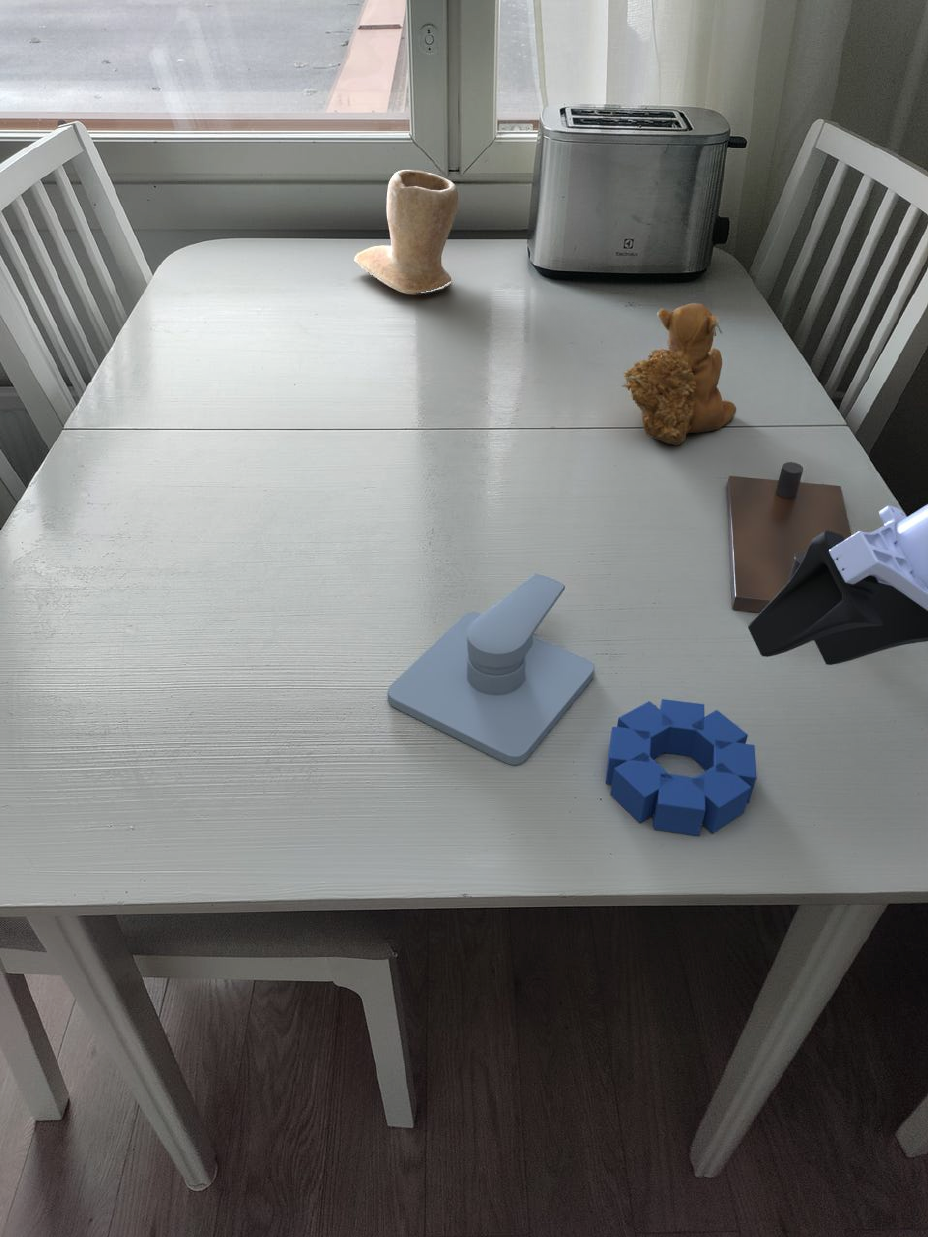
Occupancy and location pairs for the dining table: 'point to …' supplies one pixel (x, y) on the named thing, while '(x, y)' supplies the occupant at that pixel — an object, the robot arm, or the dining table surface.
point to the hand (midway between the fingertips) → (790, 646)
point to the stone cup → (414, 233)
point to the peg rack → (776, 531)
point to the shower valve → (496, 676)
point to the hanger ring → (676, 796)
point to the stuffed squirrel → (681, 378)
